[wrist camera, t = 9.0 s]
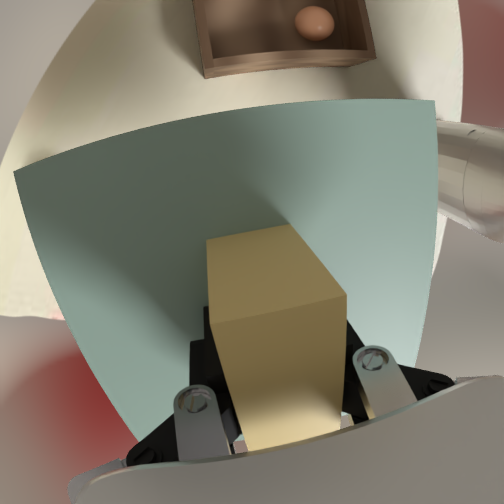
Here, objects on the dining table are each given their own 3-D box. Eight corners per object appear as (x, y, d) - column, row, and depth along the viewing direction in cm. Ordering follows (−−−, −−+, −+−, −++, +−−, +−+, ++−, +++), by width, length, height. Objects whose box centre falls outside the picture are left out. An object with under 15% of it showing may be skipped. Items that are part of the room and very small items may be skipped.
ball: (322, 12, 26) (336, 1, 22) (329, 44, 28) (344, 36, 24) (287, 12, 26) (297, 0, 22) (293, 45, 27) (304, 36, 24)
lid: (420, 100, 11) (531, 107, 5) (400, 382, 18) (444, 450, 12) (25, 167, 10) (-77, 209, 4) (146, 437, 16) (141, 520, 11)
